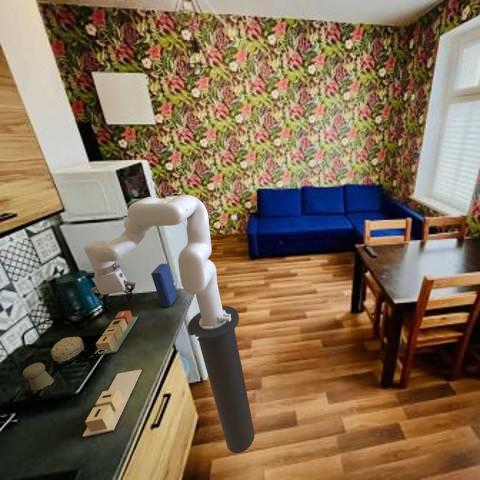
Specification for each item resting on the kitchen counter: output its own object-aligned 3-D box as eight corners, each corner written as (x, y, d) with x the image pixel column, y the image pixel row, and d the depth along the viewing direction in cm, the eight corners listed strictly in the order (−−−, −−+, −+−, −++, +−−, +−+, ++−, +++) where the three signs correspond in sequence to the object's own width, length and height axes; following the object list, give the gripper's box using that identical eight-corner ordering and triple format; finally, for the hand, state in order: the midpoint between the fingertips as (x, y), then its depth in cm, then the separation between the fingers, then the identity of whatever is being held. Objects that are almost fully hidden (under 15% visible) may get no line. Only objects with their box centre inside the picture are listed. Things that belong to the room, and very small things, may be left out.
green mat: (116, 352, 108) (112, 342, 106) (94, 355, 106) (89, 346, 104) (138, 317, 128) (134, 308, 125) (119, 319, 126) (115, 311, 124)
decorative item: (68, 372, 104) (77, 356, 101) (40, 363, 101) (48, 345, 98) (85, 353, 112) (94, 338, 110) (60, 344, 109) (68, 328, 107)
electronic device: (168, 296, 143) (158, 263, 135) (178, 295, 143) (169, 263, 135) (160, 307, 134) (149, 273, 126) (171, 306, 134) (161, 272, 126)
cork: (55, 379, 97) (41, 356, 92) (59, 387, 94) (46, 364, 89) (32, 391, 92) (17, 368, 88) (36, 401, 89) (20, 377, 85)
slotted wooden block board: (113, 430, 80) (107, 419, 78) (83, 437, 78) (76, 426, 76) (141, 370, 100) (137, 360, 97) (118, 374, 98) (113, 364, 96)
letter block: (128, 324, 122) (125, 316, 120) (117, 325, 121) (114, 317, 120) (132, 317, 126) (129, 310, 124) (122, 319, 125) (119, 311, 124)
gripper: (131, 262, 118) (143, 294, 124) (87, 268, 115) (102, 300, 121) (124, 270, 111) (137, 303, 118) (77, 276, 108) (93, 310, 115)
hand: (119, 302), depth 120 cm, fingers open, 9 cm apart
